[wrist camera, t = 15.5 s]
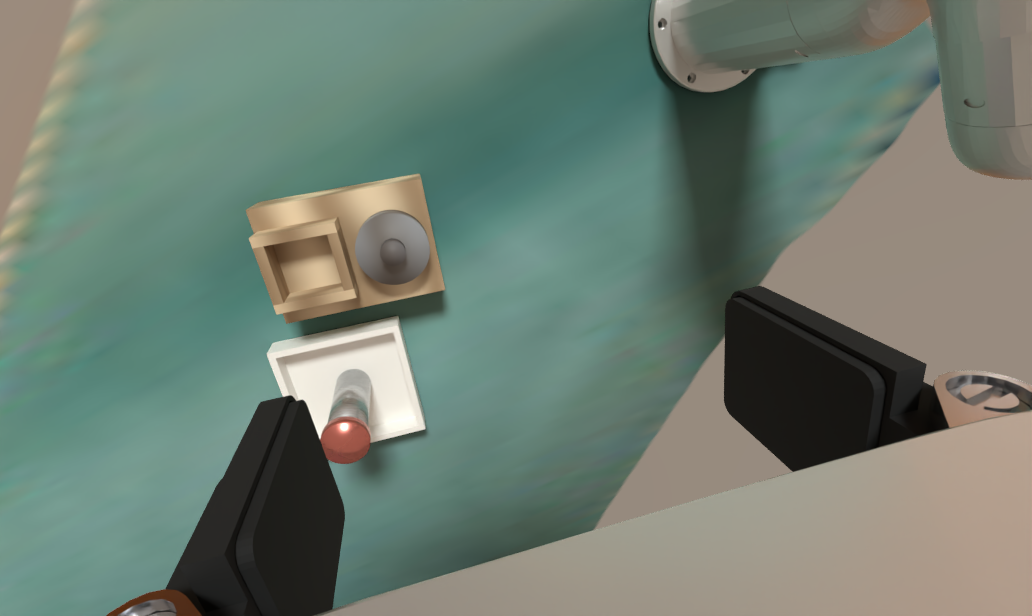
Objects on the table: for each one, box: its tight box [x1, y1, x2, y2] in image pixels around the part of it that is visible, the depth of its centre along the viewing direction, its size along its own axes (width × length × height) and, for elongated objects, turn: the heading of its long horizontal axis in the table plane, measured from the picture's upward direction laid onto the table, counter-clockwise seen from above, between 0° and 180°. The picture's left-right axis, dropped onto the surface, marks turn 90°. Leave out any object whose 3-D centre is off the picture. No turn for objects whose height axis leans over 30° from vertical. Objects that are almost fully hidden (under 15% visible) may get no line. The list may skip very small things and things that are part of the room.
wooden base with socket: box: [246, 174, 445, 324], centre depth 43 cm, size 14×10×7 cm
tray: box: [267, 316, 426, 443], centre depth 50 cm, size 12×12×2 cm
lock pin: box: [320, 369, 371, 464], centre depth 46 cm, size 4×4×10 cm
